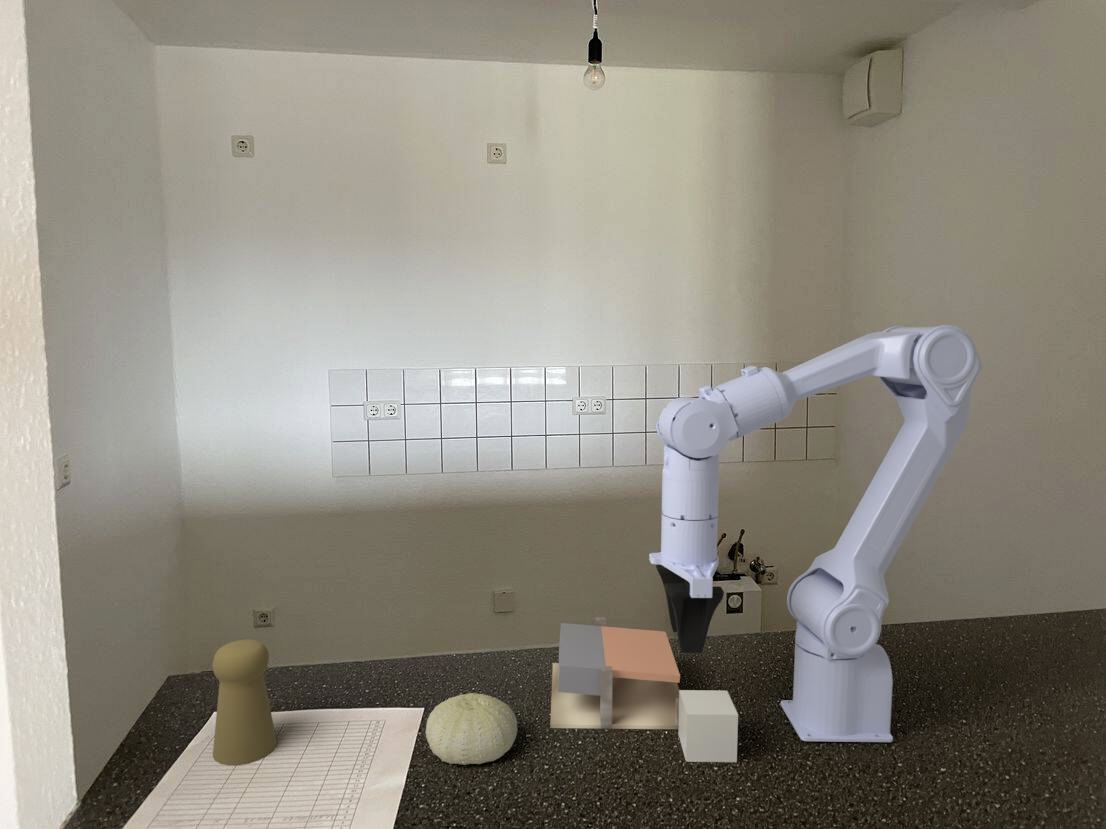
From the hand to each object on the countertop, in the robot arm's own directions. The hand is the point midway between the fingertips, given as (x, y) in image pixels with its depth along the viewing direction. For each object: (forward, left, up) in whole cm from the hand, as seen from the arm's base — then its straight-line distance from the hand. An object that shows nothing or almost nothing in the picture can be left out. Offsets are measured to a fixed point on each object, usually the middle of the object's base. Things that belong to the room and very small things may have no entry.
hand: (686, 641), depth 78 cm
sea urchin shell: (+22, +3, -10) cm, 25 cm away
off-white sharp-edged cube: (-2, +3, -10) cm, 11 cm away
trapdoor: (+7, -8, -7) cm, 13 cm away
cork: (+45, +4, -10) cm, 47 cm away
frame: (+7, -8, -10) cm, 14 cm away
